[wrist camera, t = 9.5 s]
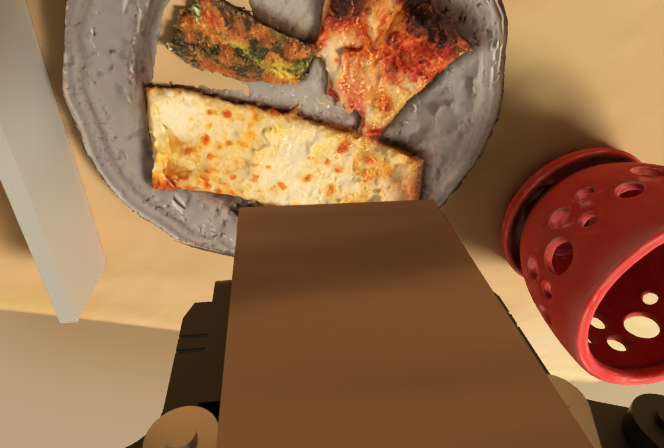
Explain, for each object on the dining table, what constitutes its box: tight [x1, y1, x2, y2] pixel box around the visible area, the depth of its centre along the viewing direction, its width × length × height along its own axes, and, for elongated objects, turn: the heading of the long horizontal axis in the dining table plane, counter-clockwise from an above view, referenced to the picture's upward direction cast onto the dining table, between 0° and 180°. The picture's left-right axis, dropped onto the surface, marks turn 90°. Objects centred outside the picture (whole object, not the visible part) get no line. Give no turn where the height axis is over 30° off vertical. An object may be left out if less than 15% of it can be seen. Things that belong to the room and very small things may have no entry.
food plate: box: [62, 0, 508, 257], centre depth 27 cm, size 25×23×4 cm
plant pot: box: [501, 148, 664, 385], centre depth 30 cm, size 13×13×12 cm
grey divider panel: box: [0, 0, 106, 323], centre depth 25 cm, size 20×1×6 cm, turn 179°
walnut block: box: [216, 199, 594, 448], centre depth 10 cm, size 5×5×7 cm
